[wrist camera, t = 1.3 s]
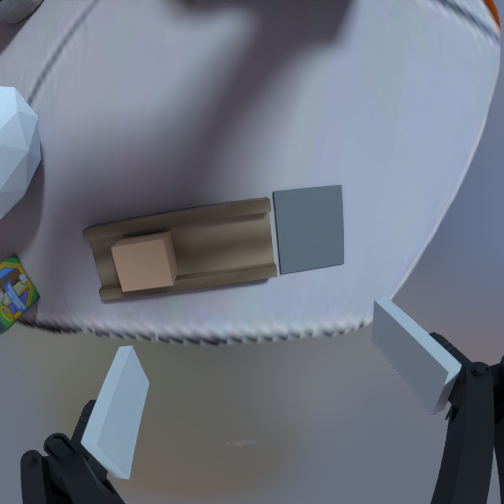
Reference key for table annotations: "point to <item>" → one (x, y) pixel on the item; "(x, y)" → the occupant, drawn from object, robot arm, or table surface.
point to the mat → (309, 228)
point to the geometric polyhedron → (16, 147)
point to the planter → (17, 9)
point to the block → (145, 261)
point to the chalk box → (14, 292)
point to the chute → (195, 245)
